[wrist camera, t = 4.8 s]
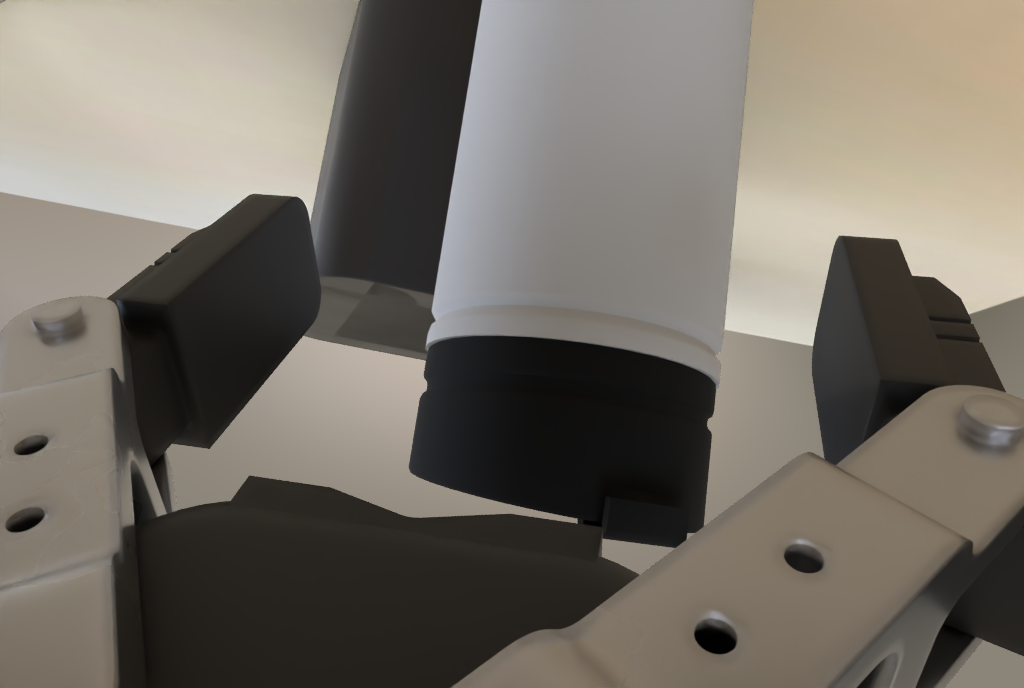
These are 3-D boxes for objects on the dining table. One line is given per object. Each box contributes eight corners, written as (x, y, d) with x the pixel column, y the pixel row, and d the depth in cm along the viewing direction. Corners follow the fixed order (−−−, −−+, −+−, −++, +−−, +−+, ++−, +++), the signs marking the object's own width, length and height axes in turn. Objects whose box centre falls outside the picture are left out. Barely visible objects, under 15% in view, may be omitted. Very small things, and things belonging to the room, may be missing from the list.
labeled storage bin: (334, 94, 42) (287, 334, 40) (379, -74, 29) (312, 268, 26) (631, 178, 47) (606, 395, 45) (783, 68, 34) (760, 366, 32)
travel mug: (849, -315, 19) (788, 562, 15) (671, -134, 25) (594, 530, 21) (629, -489, 16) (485, 524, 12) (489, -239, 22) (361, 499, 18)
